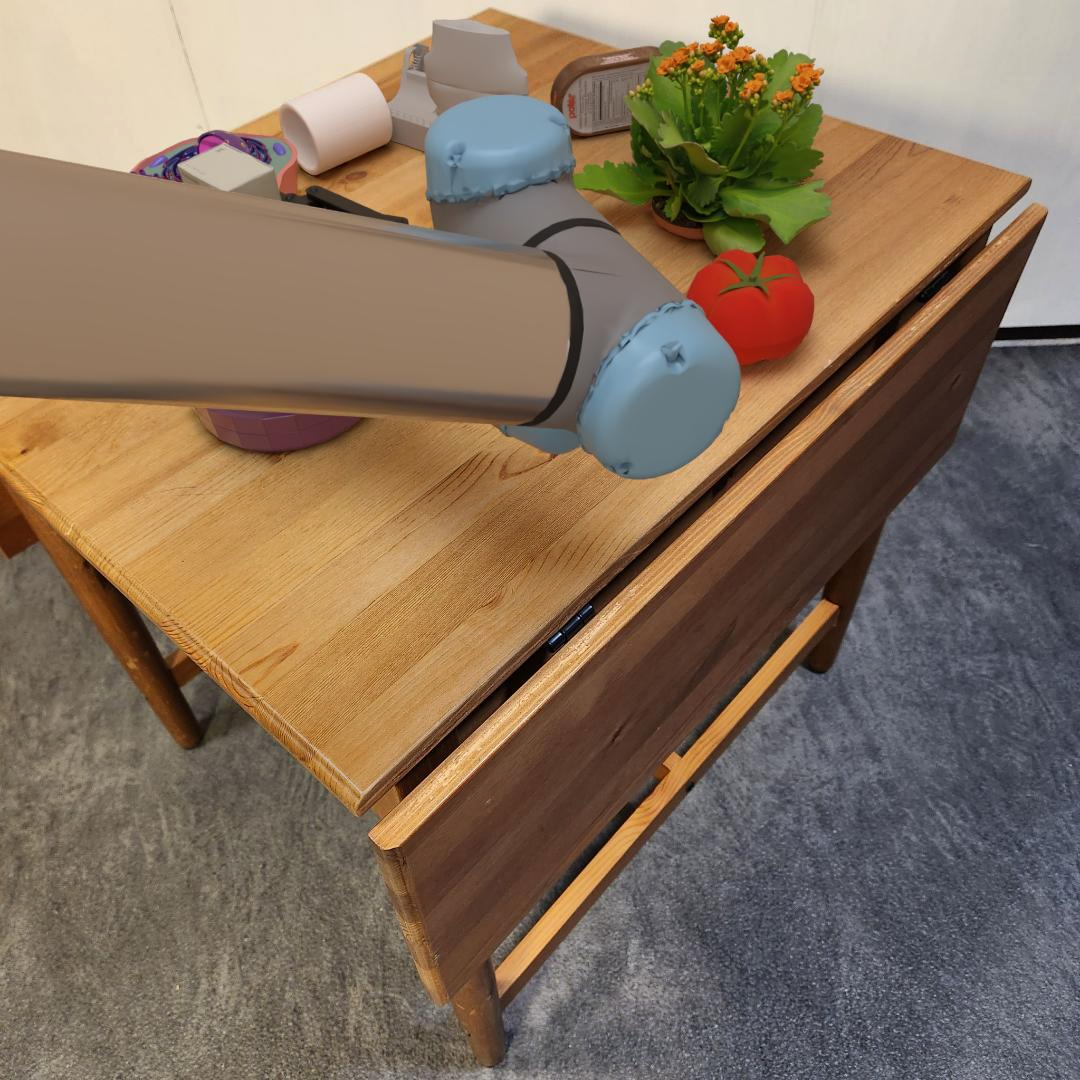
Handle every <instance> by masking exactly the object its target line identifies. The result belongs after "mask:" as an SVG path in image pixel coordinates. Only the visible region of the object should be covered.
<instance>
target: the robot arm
mask: <svg viewBox="0 0 1080 1080" xmlns="http://www.w3.org/2000/svg"><path fill="white" fill-rule="evenodd" d="M424 150H425V152H424V162H425V176H426V177H425V178H426V190H425V198H426V201H428V202H429V209H430V214H431V219H432V220H431V221H432V225H433V226H432V227H433V228H429V227H425V226H424V227H423V226H418V225H412V224H410V223H409V219H408V218H407V217H404V216H398V215H393V214H385V213H382V212H379V211H377V210H374V209H373V208H370V207H368V206H366V205H363V204H361V203H359V202H357V201H354V200H352V199H350V198H348V197H345V196H343V195H341V194H338V193H336V192H335V191H331V190H330V189H327V188H324V187H323V186H320V185H315V184H314V185H309V186H307V188H305V194H302V195H299V194H298V195H297V194H295V193H288V194H284V193H282V192H280V191H279V192H280V196H281V200H282V201H278V200H273V199H267V198H262V197H257V196H251V195H246V194H240V193H235V192H230V191H224V190H219V189H213V188H208V187H203V186H197V185H192V184H186V183H181V182H176V181H170V180H165V179H159V178H154V177H149V176H143V175H138V174H132V173H129V172H128V171H127V172H126V171H122V170H121V171H120V170H116V169H109V168H105V167H99V166H94V165H89V164H82V163H79V162H73V161H67V160H62V159H56V158H50V157H45V156H40V155H34V154H29V153H23V152H18V151H14V150H8V149H2V148H0V397H7V398H23V399H24V398H25V399H26V398H27V399H39V400H40V399H41V400H56V401H57V400H59V401H60V400H61V401H74V402H75V401H76V402H91V403H92V402H95V403H109V404H126V405H127V404H130V405H147V406H163V407H165V406H166V407H182V408H195V409H196V408H214V409H231V410H248V411H266V412H283V413H301V414H318V415H336V416H353V417H362V418H371V419H387V420H388V419H390V420H407V421H422V422H423V421H425V422H441V423H442V422H443V423H457V424H459V423H460V424H474V425H475V424H476V425H477V424H478V425H491V426H492V427H494V428H496V429H497V430H499V432H500V433H501V434H502V435H504V436H505V437H507V438H514V439H515V440H518V441H521V442H522V443H524V444H526V445H529V446H531V447H533V448H534V449H537V450H539V451H541V452H543V453H545V454H549V455H555V456H556V455H559V456H560V455H565V454H568V453H571V452H573V451H575V450H577V449H579V448H581V449H582V450H583V452H585V453H586V454H587V455H588V454H589V455H592V456H593V457H594V458H595V459H596V460H597V461H598V462H599V463H600V464H601V466H602V467H603V468H604V469H606V470H607V471H608V472H610V473H613V474H614V475H618V476H619V477H620V478H623V479H627V480H635V481H636V480H637V481H639V480H640V481H641V480H649V479H651V480H652V479H655V478H659V477H662V476H666V475H668V474H671V473H674V472H676V471H678V470H680V469H682V468H683V467H685V466H687V465H688V464H690V463H691V462H693V461H694V460H695V459H697V458H699V456H701V455H702V454H703V453H704V452H705V451H707V449H708V448H710V446H712V445H713V443H715V441H716V440H717V439H718V437H720V435H721V433H723V429H724V427H725V424H726V422H727V421H728V420H729V419H730V417H731V414H732V413H733V412H734V411H735V409H736V408H737V407H736V406H737V404H738V401H739V399H740V398H739V397H740V392H741V387H742V373H741V372H742V371H741V367H740V366H741V365H739V362H738V360H737V357H736V355H735V353H734V352H733V350H732V348H731V347H730V345H729V344H728V343H727V342H726V341H725V340H724V338H723V337H722V336H721V335H720V334H719V333H718V332H717V330H716V329H715V328H714V327H713V326H712V324H711V323H710V322H709V321H708V320H707V318H706V316H705V313H704V311H703V309H702V308H701V307H700V306H699V305H698V304H696V303H695V302H694V301H693V300H689V299H688V298H687V297H686V295H685V294H683V292H682V291H681V290H680V289H678V288H677V287H676V286H675V284H673V283H672V282H671V281H670V280H669V279H668V278H667V277H666V276H665V275H664V274H663V273H662V272H661V271H660V270H658V268H656V267H655V266H654V265H653V264H652V262H650V261H649V260H648V259H647V258H646V257H645V256H643V254H642V253H640V252H639V250H638V249H636V248H635V247H634V246H633V245H632V244H631V243H630V241H628V240H627V239H626V238H625V237H624V236H623V235H622V234H621V233H620V231H619V230H618V229H617V228H616V227H615V226H614V225H613V224H612V223H611V222H610V221H609V220H608V219H607V218H606V217H605V216H604V215H602V214H601V212H599V210H598V209H597V208H596V207H594V206H593V204H592V203H591V202H590V201H588V199H586V198H585V197H584V196H583V195H582V194H581V193H580V192H579V191H578V189H576V188H575V185H574V180H573V176H574V174H575V173H574V171H575V168H576V167H577V158H576V157H575V156H574V151H573V145H572V136H571V132H570V128H569V125H568V122H567V120H566V118H565V117H564V115H563V114H562V113H561V112H560V111H559V110H558V109H557V108H555V107H554V106H553V105H551V103H549V102H547V101H544V100H542V99H540V98H536V97H531V96H529V97H528V96H521V95H491V96H484V97H481V98H477V99H473V100H469V101H466V102H462V103H460V104H457V105H455V106H453V107H451V108H450V109H448V110H446V111H445V112H443V113H442V114H441V115H439V116H438V117H437V118H436V119H435V121H434V122H433V123H432V125H431V126H430V127H429V129H428V132H427V134H426V137H425V144H424Z"/></svg>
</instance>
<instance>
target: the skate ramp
mask: <svg viewBox="0 0 1080 1080" xmlns="http://www.w3.org/2000/svg"><path fill="white" fill-rule="evenodd" d="M429 51H430V47H429V45H426V44H422V43H419V42H416V43H414V44H413V45H410V46H409V47H406V49H405V51H404V52H403V59H402V69H401V76H400V77H401V78H400V84H399V88H398V91H397V93H396V95H395V96H394V97H393V99H391V100H390V101H388V102H387V104H388V107H389V110H390V114H391V118H392V136H391V139H390V141H391V142H395V143H397V144H400V145H403V146H405V147H406V146H407V147H409V148H412V149H415V150H418V151H420V152H421V151H422V152H424V153H425V150H424V144H425V137H426V134H427V132H428V129H429V127H430V126H431V125H432V123H433V122H434V121H435V119H436V118H437V117H438V116H437V115H436V110H435V109H436V108H437V106H436V104H435V103H434V101H433V100H432V98H431V97H430V94H429V90H428V85H427V79H426V72H425V65H424V56H425V55H426V54H427V53H428V52H429ZM412 56H413V58H412V59H413V60H412V63H411V57H412ZM410 63H411V64H410Z"/></svg>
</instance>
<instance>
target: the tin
mask: <svg viewBox="0 0 1080 1080" xmlns="http://www.w3.org/2000/svg"><path fill="white" fill-rule="evenodd" d="M658 49H659V47H658V46H656V45H655V46H654V45H643V46H637V47H632V48H626V49H620V50H619V49H618V50H614V51H608V52H601V53H595V54H589V55H583V56H579V57H577V58H574V59H573V60H570V61H569V62H568V63H567V64H566V65H565V66H563V67H562V69H560V71H559V72H558V73H557V75H556V76H555V78H554V79H553V82H552V85H551V88H550V89H551V90H550V93H549V95H550V97H549V98H550V99H549V100H550V104H551V105H553V106H554V107H555V108H557V109H558V110H559V111H560V112H561V113H562V114H563V115H564V117H565V118H566V120H567V122H568V125H569V128H570V134H573V135H575V136H579V137H593V136H597V135H602V134H609V133H614V132H619V131H624V130H630V125H631V124H632V120H631V116H632V113H631V112H630V111H629V110H628V108H627V105H626V104H625V102H624V99H623V97H624V96H625V95H627V96H628V97H629V96H630V95H629V91H633V92H635V93H636V95H637V94H638V93H637V92H636V86H638V85H639V86H640V87H641V88H642V84H643V83H644V82H645V75H646V72H647V70H648V68H650V67H649V63H650V60H649V56H650V55H651V56H654V55H655V54H657V56H658V57H661V56H663V54H660V53H659V52H658ZM644 97H645V95H644Z"/></svg>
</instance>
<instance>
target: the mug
mask: <svg viewBox="0 0 1080 1080" xmlns="http://www.w3.org/2000/svg"><path fill="white" fill-rule="evenodd" d="M387 103H388V102H387V100H386V98H385V96H384V94H383V92H382V90H381V88H380V87H379V86H378V84H377V83H376V82H375V81H374V80H373V79H372V78H371V77H370V76H369V75H368V74H366V73H363V72H355V73H352V74H350V75H348V76H346V77H342V78H340V79H338V80H335V81H333V82H331V83H328V84H326V85H323V86H321V87H318V88H316V89H313V90H311V91H308V92H306V93H303V94H302V95H299V96H296V97H293V98H291V99H288V100H286V101H284V102H282V103H281V105H280V107H279V109H278V110H279V111H278V122H279V127H280V130H281V134H282V136H283V137H282V138H283V139H286V140H287V141H289V142H291V143H292V144H293V145H294V146H295V148H296V150H297V154H298V163H297V165H299V166H300V168H302V169H303V170H304V171H305V172H306V173H307V174H310V175H312V176H317V175H320V174H322V173H324V172H327V171H329V170H331V169H334V168H335V167H338V166H341V165H343V164H344V163H347V162H349V161H351V160H353V159H355V158H358V157H360V156H362V155H365V154H367V153H369V152H371V151H373V150H376V149H378V148H380V147H382V146H384V145H387V144H388V143H389V142H390V141H391V140H390V139H391V136H392V118H391V114H390V110H389V107H388V104H387Z"/></svg>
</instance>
